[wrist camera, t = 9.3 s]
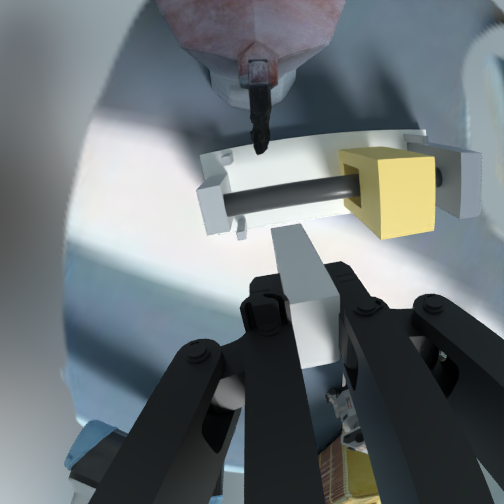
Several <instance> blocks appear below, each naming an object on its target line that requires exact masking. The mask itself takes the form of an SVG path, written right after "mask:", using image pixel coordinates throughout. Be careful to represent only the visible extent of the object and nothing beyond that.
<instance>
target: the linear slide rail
mask: <svg viewBox="0 0 504 504" xmlns="http://www.w3.org/2000/svg"><path fill="white" fill-rule="evenodd" d="M253 145H254V144H249V145H244V146H238V147H233V148H228V149H223V150H219V151H214V152H209V153H205V154H201V155H199V156H200V160H201V165H202V169H203V174H204V178H205V182H204V183H203V184H202V185H201V186H200V187H199V188H198V189H197V190H196V192H197V197H198V201H199V205H200V209H201V213H202V217H203V221H204V225H205V229H206V233H207V235H213V234H218V235H220V234H226V233H232V232H236V234H237V238H238V240H244V239H246V235H247V230H249V229H255V228H261V227H267V226H273V225H279V224H285V223H291V222H297V221H303V220H310V219H316V218H322V217H329V216H335V215H342V214H349V213H351V212H350V211H349V210H348V209H347V208H346V207H345V206H344V201H343V199H344V198H352V197H359V196H361V193H360V180H359V174H350V175H342V176H341V171H340V162H339V154H338V150H341V149H351V148H363V147H378V146H384V147H390V148H396V149H401V150H406V151H411V152H416V153H421V154H425V155H430V156H434V157H435V206H437V207H439V208H440V209H442V210H444V211H446V212H448V213H450V214H451V215H453V216H455V217H457V218H458V219H464V218H470V217H476V216H480V208H481V192H482V191H481V190H482V153H480V152H475V151H471V150H466V149H462V148H457V147H452V146H446V145H440V144H435V143H428V136H426V130H416V129H405V130H370V131H353V132H340V133H329V134H319V135H310V136H302V137H294V138H286V139H280V140H273V141H269V144H268V149H267V150H266V151H265V152H264V153H263V154H260V155H257V154H256V152H255V150H254V147H253Z"/></svg>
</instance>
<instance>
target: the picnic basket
mask: <svg viewBox="0 0 504 504" xmlns="http://www.w3.org/2000/svg"><path fill="white" fill-rule="evenodd" d="M343 434H344V432H342V434H341V435H343ZM341 435H340V436H339V437H338V438H337V439H336V440H335V441H334V442H332V443H331V444H330V445H329V446H328V447H327V448H326V449H325V450H324V451H323V452H322V453H320V454H319V455H318V460H319V466H320V472H321V478H322V484H323V490H324V497H325V503H326V504H381V501H380V497H379V493H378V489H377V485H376V481H375V477H374V474H373V470H372V466H371V462H370V459H369V455H368V454H366V453H363V452H360V451H358V450H356V451H352V450H350V449H347V448H348V446H346V445H343V444H341Z"/></svg>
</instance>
